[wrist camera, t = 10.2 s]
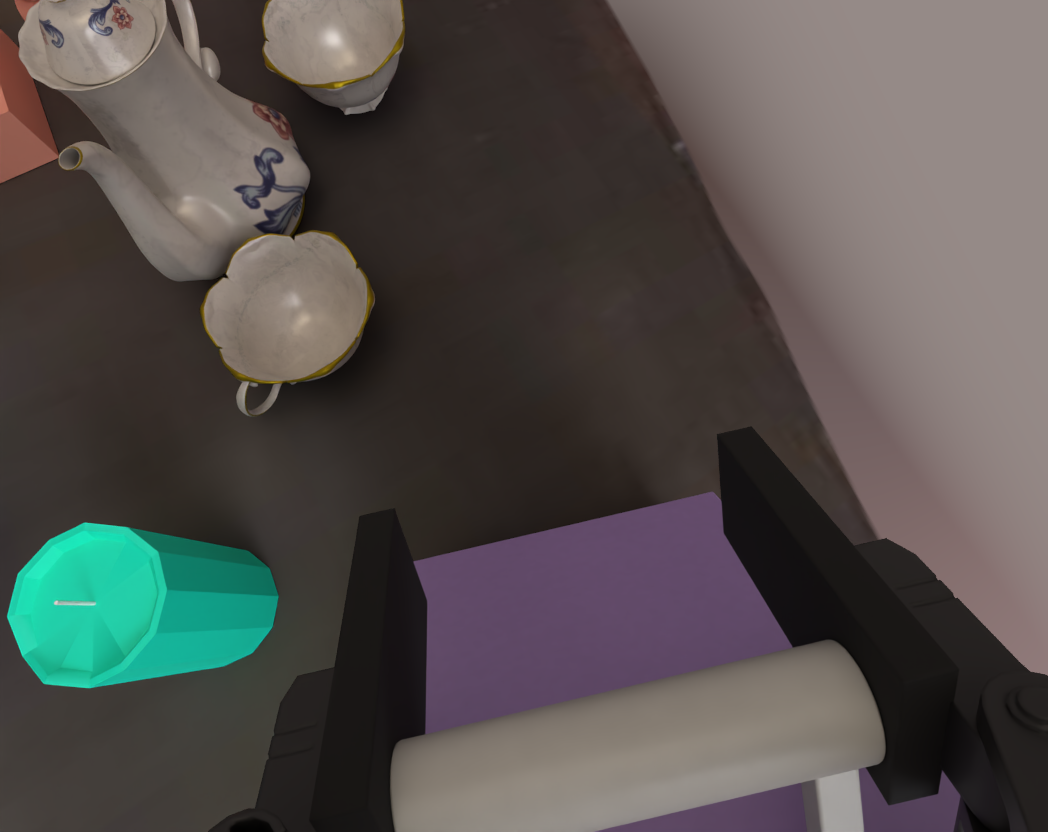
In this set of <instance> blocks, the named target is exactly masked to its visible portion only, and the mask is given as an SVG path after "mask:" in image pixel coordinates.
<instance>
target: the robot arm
mask: <svg viewBox="0 0 1048 832" xmlns="http://www.w3.org/2000/svg"><path fill="white" fill-rule="evenodd" d="M717 440H718V455H719V471H720V486H721V502H722V517H723V532H724V535H725V536H726V538H727V540H728V541H729V543H730V545H731V546H732V548H733V550H734V551H735V553H736V555H737V556H738V558H739V559H740V561H741V563H742V564H743V566H744V568H745V569H746V571H747V573H748V574H749V576H750V578H751V579H752V581H753V583H754V584H755V586H756V588H757V589H758V591H759V592H760V594H761V596H762V597H763V599H764V601H765V602H766V604H767V606H768V607H769V609H770V611H771V612H772V614H773V616H774V617H775V619H776V621H777V622H778V624H779V626H780V627H781V629H782V630H783V632H784V634H785V635H786V637H787V639H788V640H789V642H790V644H791V645H792V647H793V648H794V647H798V646H802V645H807V644H811V643H815V642H819V641H824V640H834V641H836V642H838V643H839V644H841V645H842V646H843V647H844V648H845V649H846V650H847V651H848V652H849V654H850V655H851V656H852V658H853V659H854V660H855V662H856V663H857V665H858V667H859V668H860V670H861V672H862V673H863V675H864V677H865V679H866V681H867V683H868V685H869V687H870V689H871V691H872V694H873V696H874V699H875V701H876V704H877V707H878V710H879V713H880V716H881V720H882V724H883V728H884V733H885V741H886V753H885V757H884V759H883V761H882V762H881V763H879V764H877V765H873V766H869V767H865V768H866V769H867V771H868V772H869V774H870V776H871V777H872V779H873V781H874V782H875V784H876V786H877V787H878V789H879V791H880V792H881V794H882V796H883V797H884V799H885V801H886V802H887V804H888V806H889V805H893V804H898V803H902V802H906V801H910V800H915V799H919V798H923V797H928V796H932V795H936V794H938V792H939V786H940V780H941V774H942V770H943V772H944V773H945V775H946V776H947V777H948V779H949V780H950V782H951V783H952V784H953V786H954V787H955V789H956V790H957V792H958V793H959V794H960V801H959V806H958V811H957V816H956V821H955V826H954V831H953V832H1048V676H1047V675H1045V674H1040V673H1034V672H1030V671H1029V670H1028V669H1027V668H1026V667H1024V666H1023V665H1022V664H1021V663H1020V662H1019V661H1018V660H1017V659H1016V658H1015V657H1014V656H1013V655H1012V654H1011V653H1010V652H1009V651H1008V650H1007V649H1006V648H1005V646H1003V645H1002V643H1001V642H1000V641H999V640H998V639H997V638H996V637H995V636H994V635H993V634H992V633H991V632H990V631H989V630H988V629H987V628H986V627H985V626H984V625H983V624H982V623H981V622H980V621H979V620H978V619H977V618H976V616H975V615H973V613H972V612H971V611H970V610H969V609H968V608H967V607H966V606H965V605H964V604H963V603H962V602H961V601H960V600H959V599H958V598H955V597H954V596H953V593H952V592H951V591H950V590H949V589H948V588H947V586H946V585H945V584H944V583H943V582H942V581H941V580H937V578H936V575H935V574H934V573H933V572H932V571H931V570H930V569H929V568H928V567H927V566H926V565H925V564H924V563H923V562H922V561H921V560H920V559H919V558H918V556H917V555H915V554H914V553H912V552H910V551H908V550H907V549H905V548H903V547H901V546H899V545H897V544H896V543H894V542H892V541H890V540H888V539H887V538H885V539H881V540H877V541H872V542H868V543H863V544H859V545H855V546H854V545H853V544H852V543H851V542H850V541H849V540H848V538H847V537H846V536H845V535H844V534H843V533H842V531H841V530H840V529H839V528H838V527H837V526H836V524H835V523H834V522H833V521H832V520H831V519H830V517H829V516H828V515H827V514H826V513H825V512H824V510H823V509H822V508H821V507H820V506H819V505H818V503H817V502H816V501H815V500H814V499H813V498H812V496H811V495H810V494H809V493H808V492H807V491H806V489H805V488H804V487H803V486H802V485H801V484H800V482H799V481H798V480H797V479H796V478H795V477H794V475H793V474H792V473H791V472H790V471H789V470H788V468H787V467H786V466H785V465H784V464H783V463H782V461H781V460H780V459H779V458H778V457H777V456H776V454H775V453H774V452H773V451H772V450H771V449H770V447H769V446H768V445H767V444H766V443H765V442H764V440H763V439H762V438H761V437H760V436H759V435H758V433H757V432H756V431H755V430H754V429H753V428H752V427H747V428H743V429H738V430H734V431H730V432H725V433H721V434H717ZM426 666H427V599H426V596H425V593H424V590H423V587H422V584H421V582H420V579H419V576H418V573H417V570H416V568H415V565H414V562H413V559H412V556H411V553H410V551H409V548H408V545H407V542H406V539H405V537H404V534H403V531H402V528H401V525H400V523H399V520H398V517H397V514H396V511H395V508H393V509H389V510H384V511H380V512H375V513H371V514H367V515H362V516H360V517H359V523H358V529H357V535H356V541H355V547H354V553H353V559H352V565H351V571H350V577H349V583H348V589H347V595H346V601H345V607H344V613H343V619H342V625H341V631H340V637H339V643H338V649H337V655H336V661H335V667H334V668H329V669H325V670H321V671H316V672H312V673H308V674H303V675H299V676H297V678H296V679H295V681H294V682H293V684H292V686H291V687H290V689H289V690H288V692H287V693H286V695H285V697H284V698H283V700H282V701H281V703H280V707H279V711H278V715H277V719H276V724H275V728H274V736H272V740H271V744H270V748H269V753H268V755H269V759H268V760H267V761H266V765H265V769H264V773H263V778H262V782H261V786H260V790H259V794H258V798H257V802H256V807H255V809H246V810H243V811H240V812H238V813H235V814H232V815H230V816H228V817H226V818H225V819H224V820H222V821H221V822H220V823H218V824H217V825H216V826H214V827H213V828H211V829H210V830H209V831H208V832H395V831H394V826H393V819H392V811H391V800H390V767H391V759H392V753H393V750H394V747H395V745H396V743H397V742H399V741H400V740H403V739H407V738H412V737H416V736H420V735H424V734H425V731H426Z"/></svg>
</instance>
